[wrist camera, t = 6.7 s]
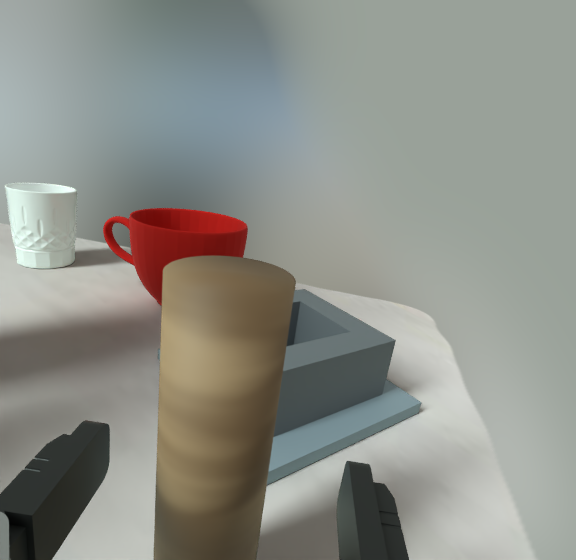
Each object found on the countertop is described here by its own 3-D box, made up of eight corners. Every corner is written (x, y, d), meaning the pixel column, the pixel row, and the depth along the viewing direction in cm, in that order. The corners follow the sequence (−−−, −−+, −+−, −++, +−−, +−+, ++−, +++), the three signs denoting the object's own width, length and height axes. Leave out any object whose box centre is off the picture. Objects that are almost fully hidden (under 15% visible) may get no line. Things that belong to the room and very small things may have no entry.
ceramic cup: (132, 271, 55) (134, 199, 51) (250, 293, 53) (259, 220, 50) (70, 303, 42) (66, 211, 39) (220, 333, 41) (229, 239, 38)
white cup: (23, 274, 48) (17, 192, 45) (2, 257, 53) (-5, 181, 50) (89, 266, 54) (87, 193, 51) (65, 251, 59) (62, 183, 56)
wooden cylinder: (173, 693, 14) (197, 306, 9) (138, 591, 17) (144, 258, 12) (266, 624, 16) (322, 289, 12) (221, 546, 19) (252, 253, 15)
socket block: (252, 491, 23) (264, 404, 21) (157, 358, 34) (160, 295, 33) (418, 412, 32) (437, 348, 30) (299, 330, 44) (307, 280, 42)
